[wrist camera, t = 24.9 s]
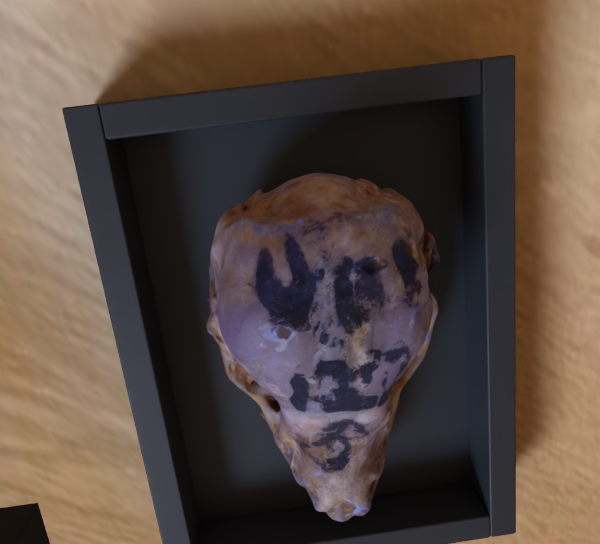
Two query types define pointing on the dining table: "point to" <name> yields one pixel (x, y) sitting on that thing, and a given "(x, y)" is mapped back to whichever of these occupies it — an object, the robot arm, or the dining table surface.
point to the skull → (324, 323)
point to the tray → (195, 291)
